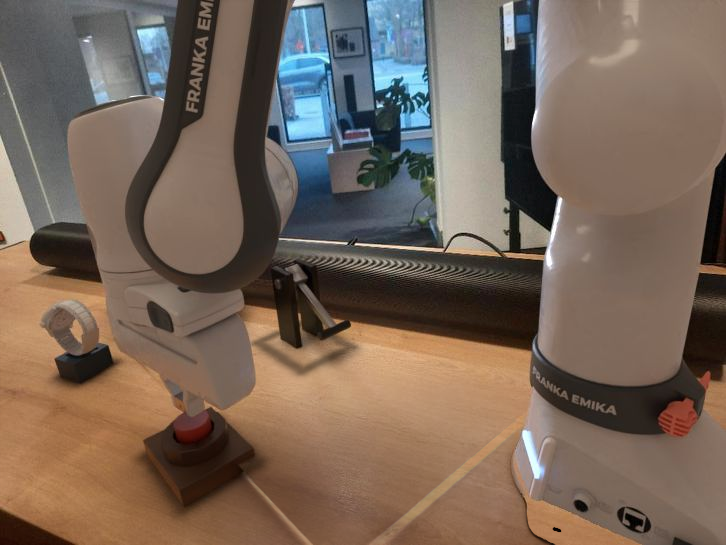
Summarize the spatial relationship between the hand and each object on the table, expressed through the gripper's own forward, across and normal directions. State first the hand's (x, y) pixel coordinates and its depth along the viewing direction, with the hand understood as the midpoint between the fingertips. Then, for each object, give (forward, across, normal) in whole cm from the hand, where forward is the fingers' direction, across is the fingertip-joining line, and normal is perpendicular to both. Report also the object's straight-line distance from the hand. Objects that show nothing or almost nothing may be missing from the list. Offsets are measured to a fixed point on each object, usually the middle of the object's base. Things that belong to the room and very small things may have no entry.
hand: (190, 409), depth 50 cm
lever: (-1, -6, +23) cm, 24 cm away
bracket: (+7, -9, +24) cm, 26 cm away
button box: (+7, -1, 0) cm, 7 cm away
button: (+3, -1, 0) cm, 3 cm away
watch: (+7, -31, +1) cm, 32 cm away
